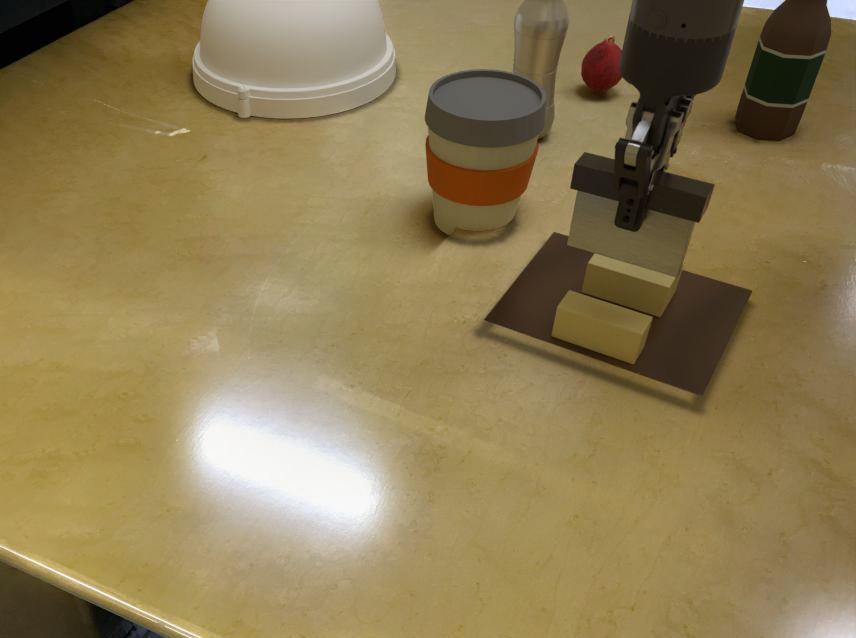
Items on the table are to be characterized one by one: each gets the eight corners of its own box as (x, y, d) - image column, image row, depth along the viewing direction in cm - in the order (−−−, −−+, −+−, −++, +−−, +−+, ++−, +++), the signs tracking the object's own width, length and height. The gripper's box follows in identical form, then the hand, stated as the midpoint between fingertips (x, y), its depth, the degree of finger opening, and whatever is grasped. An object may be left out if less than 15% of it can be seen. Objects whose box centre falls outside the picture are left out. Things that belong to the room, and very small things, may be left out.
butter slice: (644, 347, 84) (653, 316, 81) (633, 365, 82) (642, 334, 80) (562, 319, 87) (569, 289, 85) (550, 336, 85) (556, 306, 83)
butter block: (675, 291, 90) (685, 261, 87) (660, 317, 87) (669, 287, 84) (598, 267, 93) (605, 237, 91) (581, 292, 90) (587, 262, 88)
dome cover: (257, 19, 148) (251, -74, 138) (428, 47, 138) (434, -51, 128) (149, 98, 128) (133, -4, 118) (340, 138, 118) (340, 30, 108)
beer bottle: (721, 117, 119) (781, -81, 103) (775, 110, 120) (843, -86, 104) (751, 144, 114) (820, -60, 97) (808, 137, 115) (886, -66, 98)
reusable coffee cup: (511, 260, 97) (530, 131, 86) (402, 235, 101) (408, 109, 90) (541, 203, 105) (562, 78, 95) (439, 182, 109) (448, 60, 99)
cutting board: (748, 302, 91) (753, 290, 90) (697, 408, 80) (702, 396, 79) (551, 242, 99) (553, 231, 98) (481, 331, 88) (483, 319, 87)
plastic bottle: (525, 151, 114) (549, -13, 100) (489, 130, 118) (508, -30, 104) (561, 137, 116) (590, -25, 103) (525, 117, 121) (549, -41, 107)
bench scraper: (688, 269, 78) (715, 183, 73) (680, 283, 77) (706, 197, 71) (568, 234, 83) (584, 151, 77) (558, 247, 82) (574, 163, 76)
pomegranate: (599, 106, 122) (611, 48, 117) (567, 92, 126) (578, 34, 120) (628, 94, 125) (641, 37, 119) (596, 80, 128) (607, 24, 123)
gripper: (709, 59, 60) (650, 273, 72) (760, -9, 68) (700, 193, 80) (600, 38, 63) (561, 246, 75) (661, -25, 71) (617, 172, 83)
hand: (633, 218), depth 77 cm, fingers closed on bench scraper, 2 cm apart
